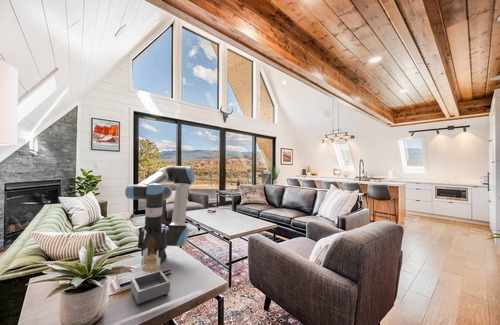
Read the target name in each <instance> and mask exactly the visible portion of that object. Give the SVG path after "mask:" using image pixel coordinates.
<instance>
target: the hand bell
mask: <svg viewBox="0 0 500 325" xmlns="http://www.w3.org/2000/svg"><path fill="white" fill-rule="evenodd" d="M155 243H156V239H155V237H154V235H152V236H151V238H150V246H151V250H150V255H149V256H147V259H146V263H145V265H143V266H142V267H141V270H142V271H143V272H146V273H147V272H148V273H149V272H150V273H151V272H156V271H158V270H160V268H161V263H159V264H158V265H156V255H154V246H155Z"/></svg>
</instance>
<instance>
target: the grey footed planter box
mask: <svg viewBox="0 0 500 325" xmlns="http://www.w3.org/2000/svg"><path fill="white" fill-rule="evenodd" d="M130 290H131V295H132V296H133V297H134V300H135V301H136V302H135V303H136V306H137V307H139V306H141V304H142V303H144V302H147V301H149V300H152V299H154V298H155V299H156V298H158V297H161V296H165V297H166V296H168V295H169V293H170V292H171V281H170V280H169V279H168V277H167V276H166V275H165V273H164V272H163V271H162V269H158V270H155V271H151V272H150V273H149V272H148V273H145V274H142V275H138V276H135V277H132V278H130Z"/></svg>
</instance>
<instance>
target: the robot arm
mask: <svg viewBox="0 0 500 325" xmlns="http://www.w3.org/2000/svg"><path fill="white" fill-rule="evenodd" d="M169 182H170V183H173V185H174V186H175V191H174V192H175V193H174V199H173V208H172V209H173V210H172V216H171V217H172V218H171V222H170V223H169V224H168V227H167V226H166V224H165V223H163V206H164V205H163V204H164V200H167V199H169V198H170V197H171V196H172V195H173V190H172V188H171V186H169V185H166V184H165V183H169ZM193 183H195V170H194V168H193V167H192V166H186V165H169V166H164V167H162V168H159V169H157V170H156V171H155V172H154V174H152V175H150V176H149V177H147V178H145V179H144V180H142V181H141V182H139V183H137V184H129V185H127V186H126V187H125V190H124V194H125V195H124V196H125V197H126V199H127V200H129V199H131V200H145V201H146V202H145V217H144V226H143V225H142V226H141V227H138V239H137V240H138V241H137V249H140V250H141V252H140V254H141V255H140V256H141V257H142V258H141V264H142V265H143V264H145V263H146V259H147V256H149V255H150V250H151V246H150V238H151V236H152V235H154V237H155V239H156V243H155V246H154V255H156V265H158V264H161V263H160V262H162V263H163V262H165V261H166V260H167V258H168V255H167V252H166V249H167V247H183V246H185V245H186V243H187V241H188V238H189V236H190V235H189V234H190V229H189V228H188V225H187V223H186V216H187V215H186V214H187V208H188V206H187V204H188V199H189V198H188V196H189V188H191V186H192V184H193ZM164 184H165V185H164ZM145 232H146V233H145Z"/></svg>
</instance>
